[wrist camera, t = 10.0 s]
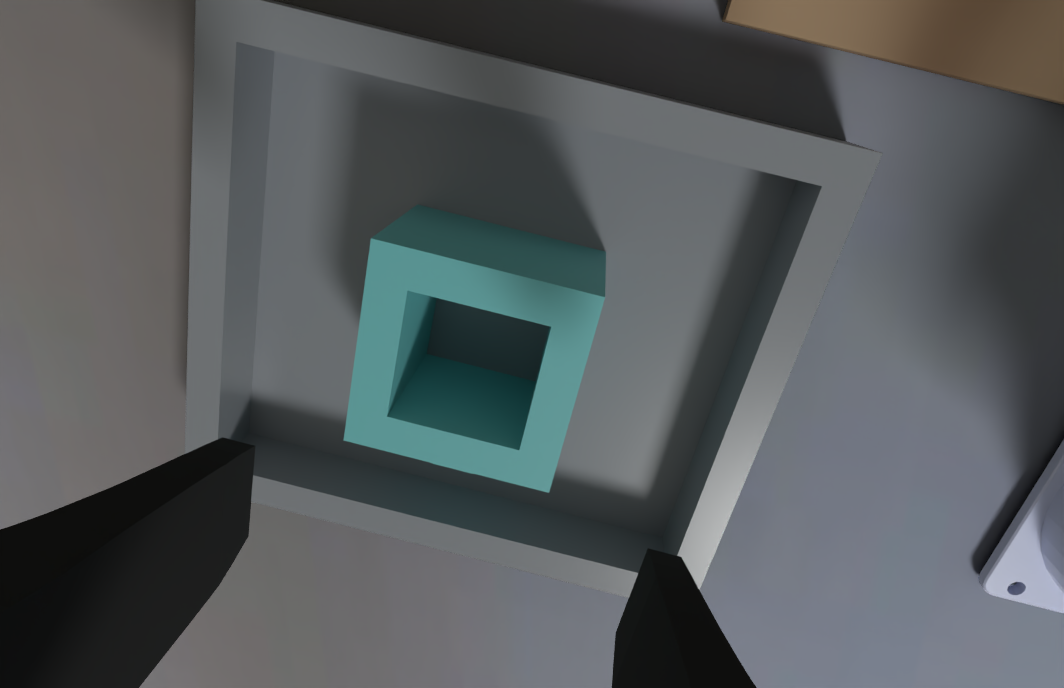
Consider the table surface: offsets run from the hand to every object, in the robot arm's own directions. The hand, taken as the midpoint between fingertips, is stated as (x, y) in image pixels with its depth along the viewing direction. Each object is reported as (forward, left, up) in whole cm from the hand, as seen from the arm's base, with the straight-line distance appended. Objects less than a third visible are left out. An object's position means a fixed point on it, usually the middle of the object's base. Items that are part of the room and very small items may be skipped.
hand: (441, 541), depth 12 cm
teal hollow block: (+1, -1, -9) cm, 9 cm away
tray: (+1, -1, -9) cm, 9 cm away
